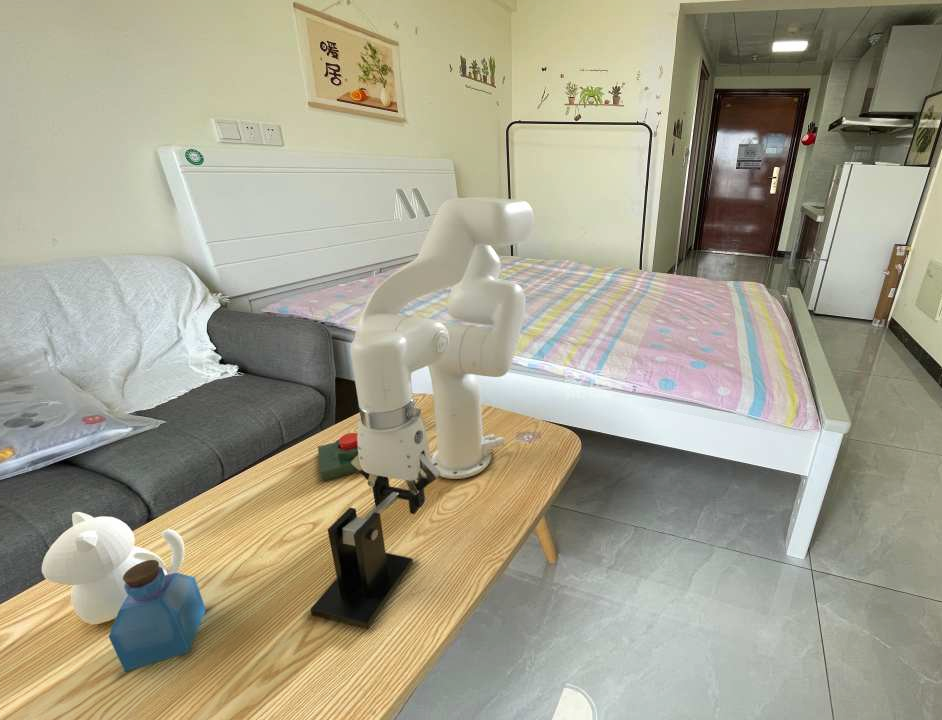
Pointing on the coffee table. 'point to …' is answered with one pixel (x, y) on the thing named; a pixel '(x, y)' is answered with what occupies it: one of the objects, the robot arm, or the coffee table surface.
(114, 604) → the cat figurine
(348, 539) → the lever
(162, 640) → the perfume bottle
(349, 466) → the control box
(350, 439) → the button
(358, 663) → the coffee table surface
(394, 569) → the bracket
